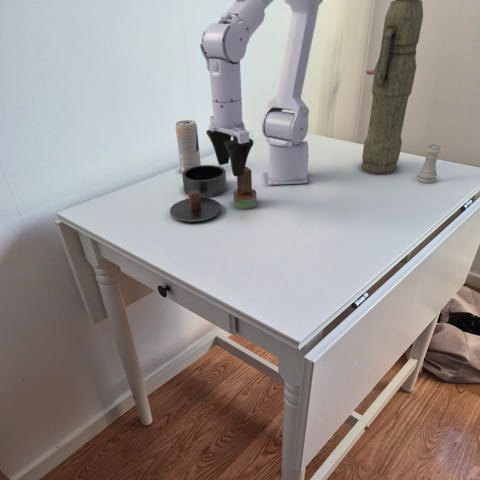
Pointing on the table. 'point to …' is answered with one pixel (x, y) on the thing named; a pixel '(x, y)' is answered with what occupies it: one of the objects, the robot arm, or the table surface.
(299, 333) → the table surface
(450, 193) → the table surface
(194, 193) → the tin lid
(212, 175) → the tin
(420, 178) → the rook chess piece
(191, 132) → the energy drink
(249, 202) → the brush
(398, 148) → the green robed figurine
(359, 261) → the table surface
